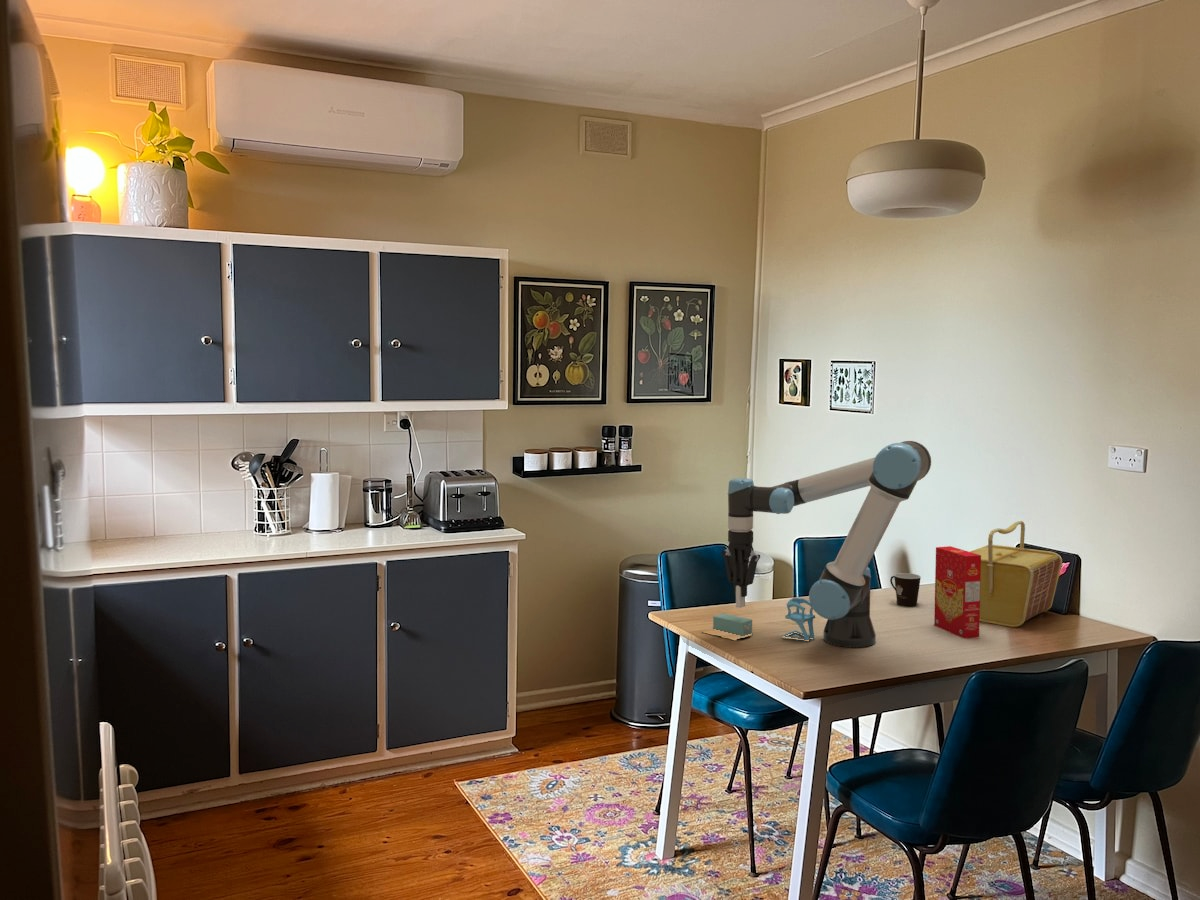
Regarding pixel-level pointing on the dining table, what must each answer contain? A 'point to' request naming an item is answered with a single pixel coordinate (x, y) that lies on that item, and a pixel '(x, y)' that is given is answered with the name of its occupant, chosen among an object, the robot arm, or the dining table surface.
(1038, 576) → the picnic basket
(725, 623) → the teal block
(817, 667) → the dining table surface
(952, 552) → the food packaging
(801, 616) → the chair
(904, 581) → the coffee mug
